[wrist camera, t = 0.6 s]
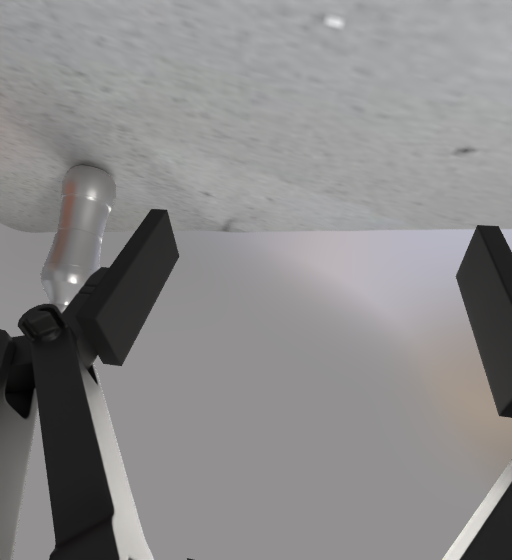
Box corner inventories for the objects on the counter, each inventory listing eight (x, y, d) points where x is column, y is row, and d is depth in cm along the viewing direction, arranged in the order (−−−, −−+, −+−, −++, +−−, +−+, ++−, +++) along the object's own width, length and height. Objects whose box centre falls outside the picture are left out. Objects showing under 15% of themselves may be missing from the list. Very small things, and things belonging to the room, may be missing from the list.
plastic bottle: (63, 173, 49) (27, 320, 44) (70, 151, 44) (30, 316, 39) (113, 189, 53) (84, 328, 48) (125, 171, 47) (94, 325, 42)
